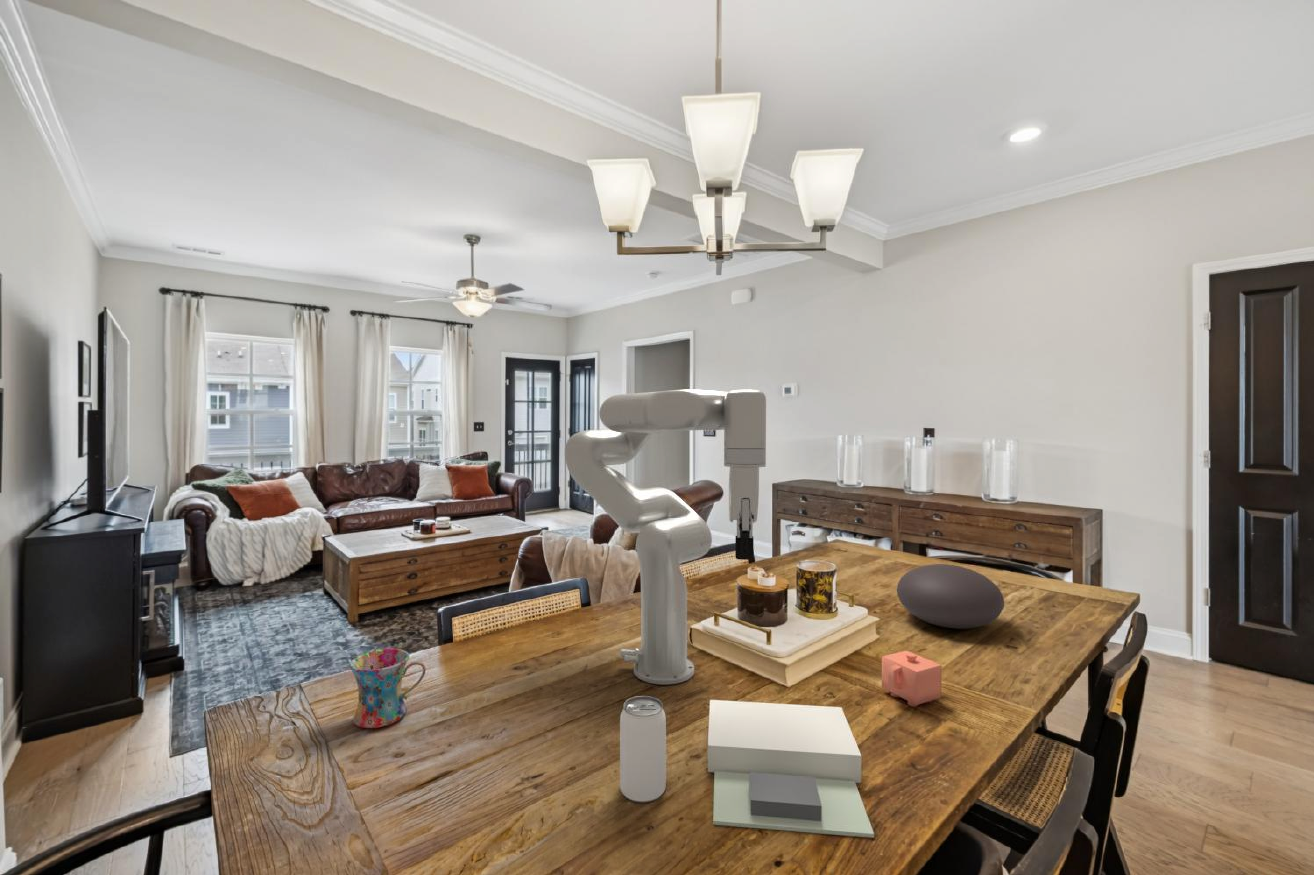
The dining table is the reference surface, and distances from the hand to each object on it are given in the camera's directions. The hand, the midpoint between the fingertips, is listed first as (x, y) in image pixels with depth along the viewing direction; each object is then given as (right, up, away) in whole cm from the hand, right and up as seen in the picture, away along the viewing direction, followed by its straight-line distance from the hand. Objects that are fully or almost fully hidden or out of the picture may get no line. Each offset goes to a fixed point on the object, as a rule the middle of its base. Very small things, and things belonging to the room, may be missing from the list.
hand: (744, 558), depth 104 cm
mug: (-63, -27, -4) cm, 69 cm away
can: (-18, -28, -23) cm, 41 cm away
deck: (+3, -27, -14) cm, 31 cm away
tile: (+1, -25, -27) cm, 37 cm away
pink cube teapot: (+33, -27, +4) cm, 43 cm away
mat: (+2, -28, -26) cm, 38 cm away
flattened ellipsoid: (+59, -26, +43) cm, 78 cm away
